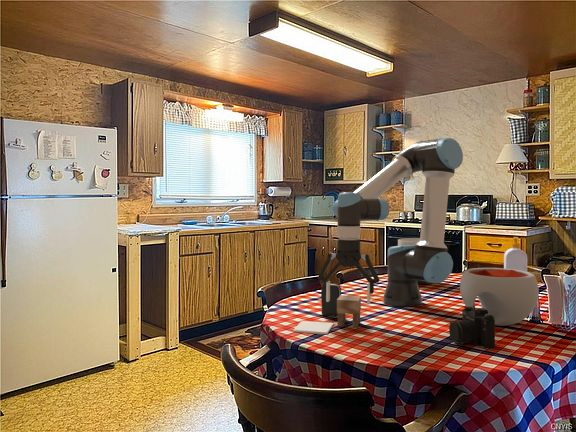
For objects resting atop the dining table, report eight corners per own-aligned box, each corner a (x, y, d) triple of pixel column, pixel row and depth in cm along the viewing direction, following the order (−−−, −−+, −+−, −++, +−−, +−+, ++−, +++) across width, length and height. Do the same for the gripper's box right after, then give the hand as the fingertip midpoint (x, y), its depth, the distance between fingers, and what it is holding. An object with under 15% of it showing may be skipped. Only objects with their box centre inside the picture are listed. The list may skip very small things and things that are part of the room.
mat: (333, 324, 153) (333, 323, 153) (327, 334, 143) (327, 332, 143) (301, 322, 156) (301, 320, 156) (293, 331, 146) (293, 329, 146)
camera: (441, 335, 140) (441, 303, 140) (474, 334, 142) (474, 302, 141) (462, 350, 127) (462, 315, 126) (499, 349, 128) (499, 313, 127)
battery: (342, 314, 166) (342, 283, 166) (339, 317, 163) (338, 285, 162) (324, 312, 169) (324, 282, 169) (320, 315, 166) (320, 283, 165)
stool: (360, 322, 156) (360, 296, 155) (358, 328, 149) (358, 300, 149) (340, 321, 158) (340, 295, 157) (337, 326, 151) (336, 299, 151)
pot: (555, 331, 143) (555, 274, 143) (481, 333, 142) (481, 276, 141) (511, 312, 167) (512, 263, 167) (448, 314, 165) (448, 265, 165)
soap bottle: (524, 284, 219) (524, 236, 218) (527, 287, 212) (527, 238, 211) (503, 283, 221) (503, 236, 220) (505, 286, 215) (506, 237, 214)
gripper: (387, 238, 152) (387, 302, 153) (314, 237, 159) (314, 297, 160) (386, 240, 145) (385, 307, 146) (309, 238, 152) (309, 302, 153)
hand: (348, 302), depth 153 cm, fingers open, 13 cm apart
